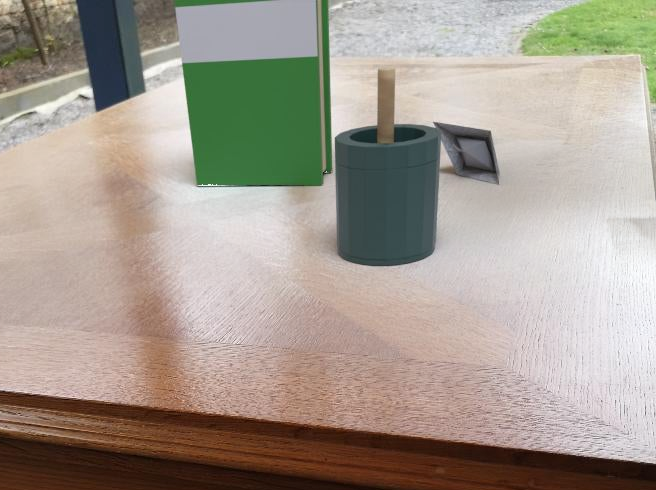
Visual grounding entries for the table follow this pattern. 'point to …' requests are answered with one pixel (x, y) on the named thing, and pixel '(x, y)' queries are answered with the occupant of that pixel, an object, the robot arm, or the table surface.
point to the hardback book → (257, 90)
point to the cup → (387, 194)
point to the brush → (386, 105)
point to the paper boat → (470, 151)
